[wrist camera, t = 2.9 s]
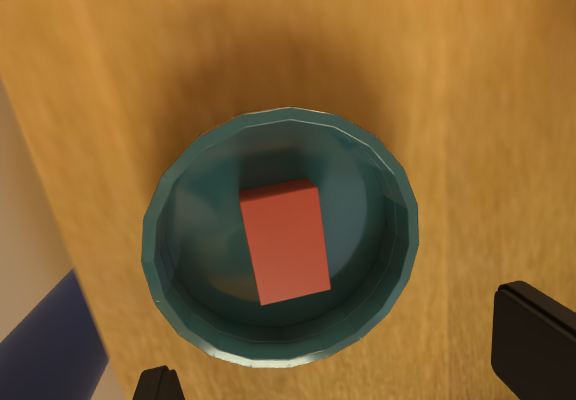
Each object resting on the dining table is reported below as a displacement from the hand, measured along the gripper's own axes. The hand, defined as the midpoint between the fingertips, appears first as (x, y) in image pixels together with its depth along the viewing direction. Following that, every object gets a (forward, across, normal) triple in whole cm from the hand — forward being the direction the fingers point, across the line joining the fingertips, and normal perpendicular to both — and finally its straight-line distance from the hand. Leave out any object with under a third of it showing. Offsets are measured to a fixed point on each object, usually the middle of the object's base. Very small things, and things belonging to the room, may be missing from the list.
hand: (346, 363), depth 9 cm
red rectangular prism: (+11, 0, 0) cm, 11 cm away
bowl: (+11, 0, 0) cm, 11 cm away
